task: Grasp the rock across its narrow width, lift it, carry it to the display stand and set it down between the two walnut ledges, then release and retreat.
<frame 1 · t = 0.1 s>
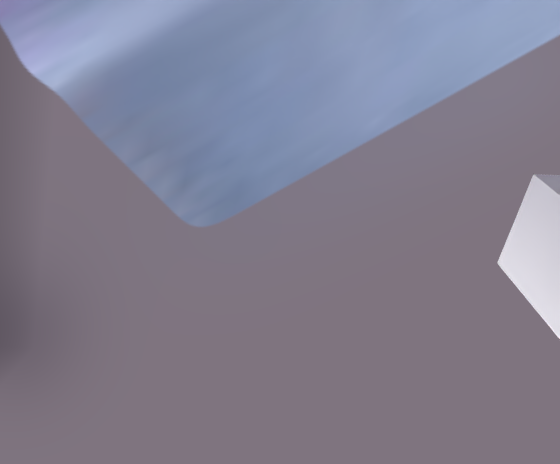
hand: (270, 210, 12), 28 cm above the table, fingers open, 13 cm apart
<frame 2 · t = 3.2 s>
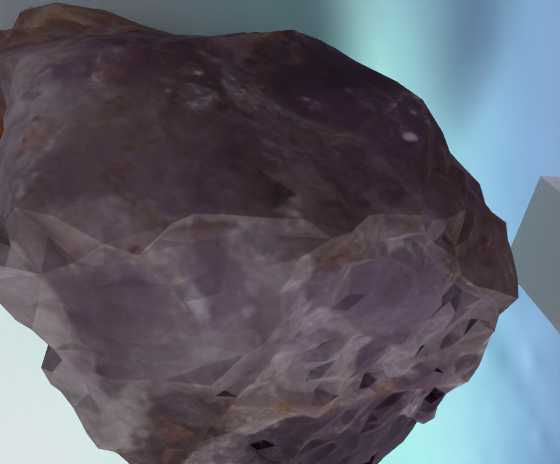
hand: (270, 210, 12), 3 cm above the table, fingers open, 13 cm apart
rock: (240, 180, 15), on the table, touching gripper
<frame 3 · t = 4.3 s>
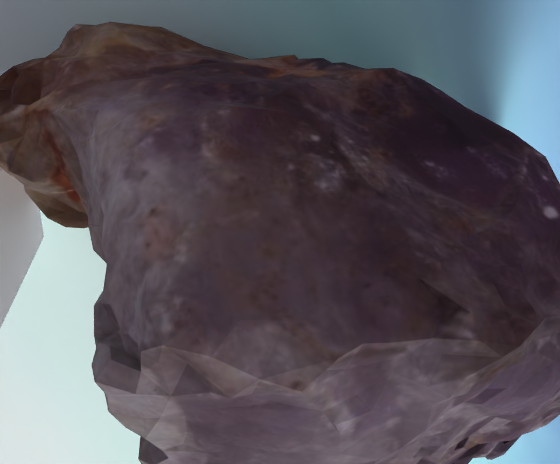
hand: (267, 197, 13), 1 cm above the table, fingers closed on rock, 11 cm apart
rock: (284, 194, 14), on the table, touching gripper
when the fingers open (5 cm above the table, at t = 9.9 s): rock drops 1 cm, resting on display stand.
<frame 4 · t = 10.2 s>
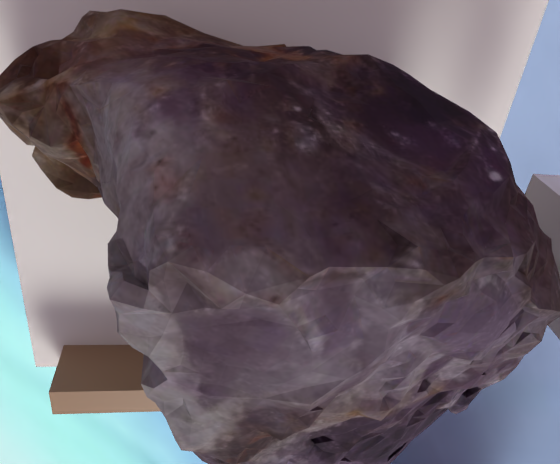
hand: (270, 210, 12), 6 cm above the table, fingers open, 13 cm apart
display stand: (252, 125, 17), on the table
rock: (274, 175, 15), point 3 cm above the table, touching display stand
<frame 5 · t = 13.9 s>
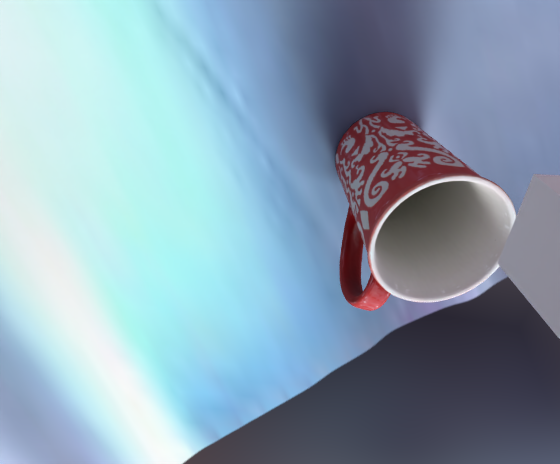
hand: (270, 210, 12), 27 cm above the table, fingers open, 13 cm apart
mug: (364, 169, 43), on the table
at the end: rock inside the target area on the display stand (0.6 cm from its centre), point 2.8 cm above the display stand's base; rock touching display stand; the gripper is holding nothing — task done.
